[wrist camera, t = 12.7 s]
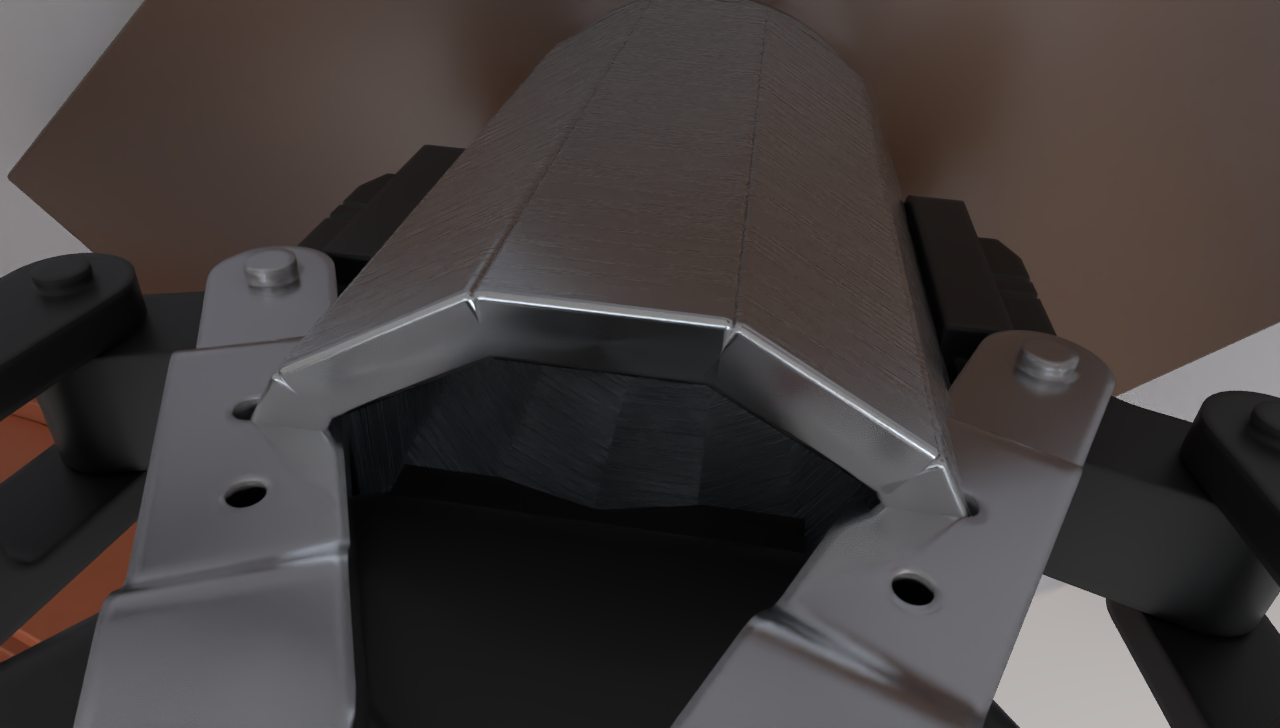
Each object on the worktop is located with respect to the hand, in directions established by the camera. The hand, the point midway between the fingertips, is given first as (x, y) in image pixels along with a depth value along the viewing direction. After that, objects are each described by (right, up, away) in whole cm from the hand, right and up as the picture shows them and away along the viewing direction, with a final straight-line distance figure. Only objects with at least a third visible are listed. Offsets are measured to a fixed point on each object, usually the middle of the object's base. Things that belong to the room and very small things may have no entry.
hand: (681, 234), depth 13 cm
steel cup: (0, +1, +2) cm, 2 cm away
